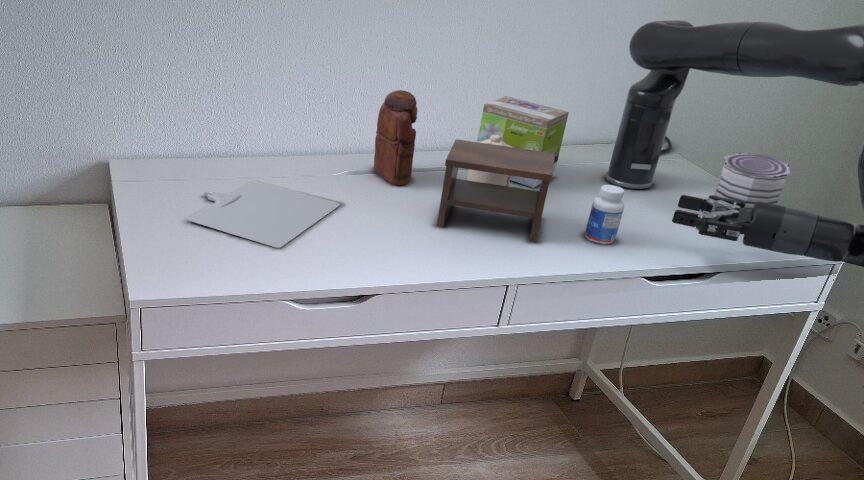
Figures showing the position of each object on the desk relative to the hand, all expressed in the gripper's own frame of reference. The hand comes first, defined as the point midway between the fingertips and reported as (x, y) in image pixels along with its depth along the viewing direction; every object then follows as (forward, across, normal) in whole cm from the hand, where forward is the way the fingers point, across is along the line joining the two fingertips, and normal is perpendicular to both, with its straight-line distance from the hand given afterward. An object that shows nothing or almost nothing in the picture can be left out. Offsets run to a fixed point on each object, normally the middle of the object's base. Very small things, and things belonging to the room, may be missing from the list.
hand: (676, 208), depth 151 cm
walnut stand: (+31, +4, +8) cm, 32 cm away
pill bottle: (+11, 0, +9) cm, 14 cm away
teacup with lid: (+37, -13, +9) cm, 40 cm away
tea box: (+34, -26, +8) cm, 43 cm away
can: (-11, -25, +9) cm, 29 cm away
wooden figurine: (+55, -9, +8) cm, 57 cm away
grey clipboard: (+70, +24, +9) cm, 74 cm away
